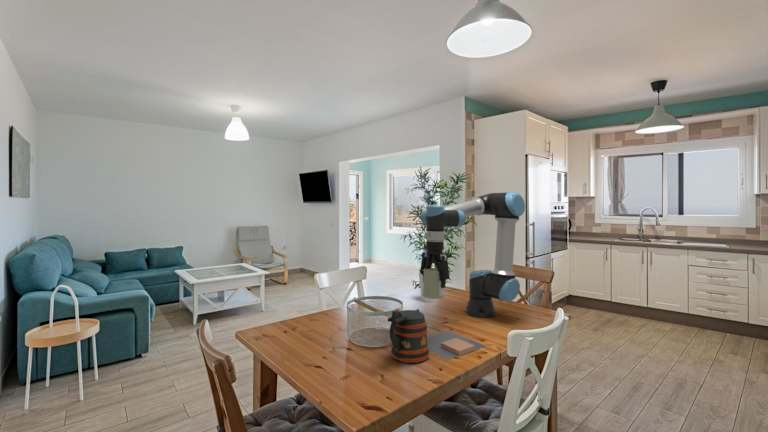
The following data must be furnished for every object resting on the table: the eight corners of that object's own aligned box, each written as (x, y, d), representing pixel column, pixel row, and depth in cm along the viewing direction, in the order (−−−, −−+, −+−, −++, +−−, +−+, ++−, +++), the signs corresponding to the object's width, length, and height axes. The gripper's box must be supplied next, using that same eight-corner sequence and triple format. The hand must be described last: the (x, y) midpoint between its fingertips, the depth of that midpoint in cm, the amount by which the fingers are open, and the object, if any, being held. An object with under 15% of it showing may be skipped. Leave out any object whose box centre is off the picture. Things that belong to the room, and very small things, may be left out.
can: (443, 299, 150) (444, 271, 150) (421, 297, 152) (422, 269, 152) (444, 294, 159) (445, 267, 159) (424, 292, 161) (424, 266, 161)
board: (447, 332, 165) (447, 330, 165) (486, 348, 147) (486, 346, 147) (410, 343, 152) (410, 341, 152) (448, 362, 134) (448, 359, 134)
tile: (456, 337, 151) (440, 342, 145) (475, 345, 142) (459, 351, 137) (456, 342, 151) (440, 347, 146) (474, 350, 143) (459, 355, 137)
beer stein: (410, 372, 126) (410, 316, 125) (376, 362, 134) (376, 309, 134) (435, 354, 141) (435, 303, 141) (403, 345, 150) (403, 298, 149)
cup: (418, 302, 214) (418, 274, 213) (419, 298, 224) (419, 270, 223) (437, 303, 212) (437, 274, 211) (437, 298, 222) (437, 271, 222)
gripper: (412, 239, 162) (411, 289, 162) (446, 243, 144) (445, 299, 144) (424, 238, 166) (423, 287, 166) (459, 242, 148) (458, 297, 149)
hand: (433, 292), depth 155 cm, fingers closed on can, 9 cm apart
